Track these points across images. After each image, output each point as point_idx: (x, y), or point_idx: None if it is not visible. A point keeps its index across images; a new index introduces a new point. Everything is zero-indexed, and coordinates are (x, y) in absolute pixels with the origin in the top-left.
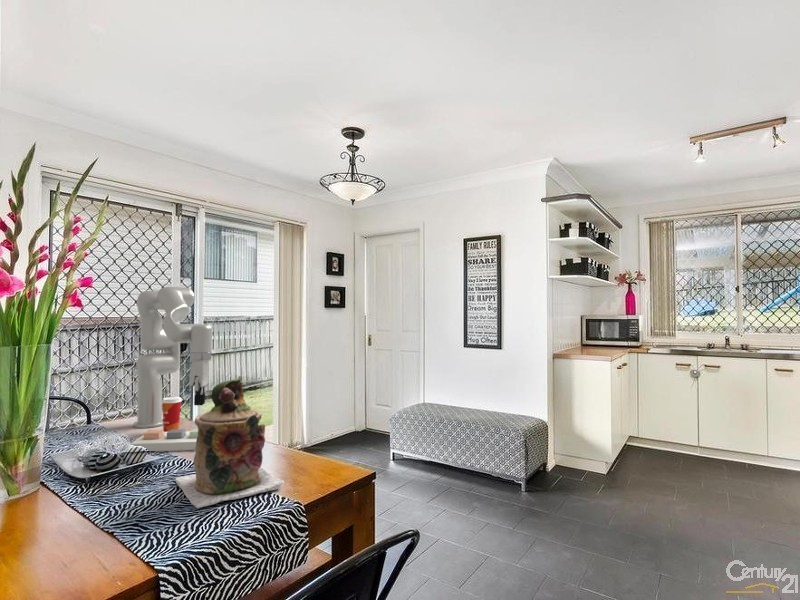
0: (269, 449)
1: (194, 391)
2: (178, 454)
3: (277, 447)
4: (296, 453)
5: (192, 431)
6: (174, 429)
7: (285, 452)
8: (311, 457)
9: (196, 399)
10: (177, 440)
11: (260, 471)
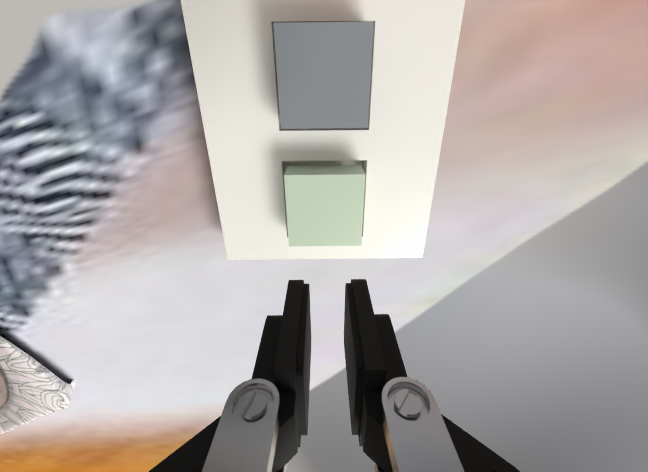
0: None
1: (210, 445)
2: (164, 147)
3: None
4: None
5: (299, 186)
6: (365, 49)
7: None
8: None
9: (261, 347)
10: (241, 115)
11: (12, 416)
